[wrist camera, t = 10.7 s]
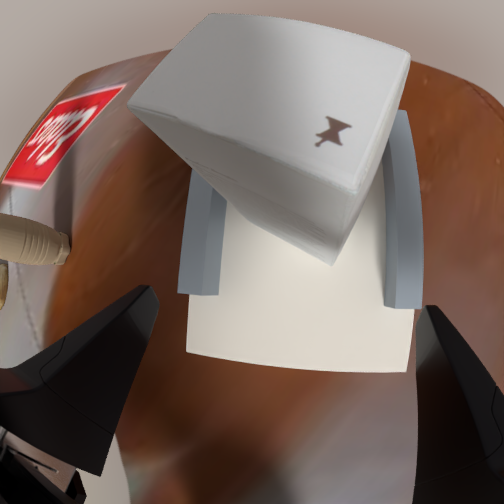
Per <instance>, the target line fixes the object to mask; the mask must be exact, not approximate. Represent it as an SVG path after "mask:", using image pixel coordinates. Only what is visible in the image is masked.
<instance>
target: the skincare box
mask: <svg viewBox="0 0 504 504" xmlns="http://www.w3.org/2000/svg"><path fill="white" fill-rule="evenodd" d="M410 60H411V59H410V54H409V53H408V52H407V51H405V50H402V49H400V48H398V47H395V46H392V45H390V44H387V43H384V42H381V41H378V40H375V39H372V38H368V37H365V36H362V35H358V34H354V33H351V32H347V31H343V30H340V29H336V28H332V27H328V26H322V25H318V24H313V23H309V22H304V21H298V20H292V19H285V18H279V17H270V16H259V15H245V14H216V13H212V14H209V15H208V16H207V17H206V18H204V19H203V20H202V21H201V22H200V23H199V24H198V25H197V26H196V27H195V28H193V29H192V30H191V31H190V32H189V33H188V34H187V35H186V36H185V37H184V38H183V39H182V40H181V41H180V42H179V43H178V44H177V45H176V46H175V47H174V48H173V49H172V51H171V52H170V53H169V54H168V55H167V56H166V57H165V58H164V59H163V60H162V61H161V62H160V64H159V65H158V66H157V67H156V68H155V69H154V70H153V71H152V73H151V74H150V75H149V76H148V77H147V78H146V80H145V81H144V82H143V83H142V84H141V86H140V87H139V88H138V89H137V90H136V92H135V93H134V94H133V95H132V97H131V98H130V99H129V101H128V103H127V108H128V109H129V110H130V111H131V112H132V113H133V114H134V115H135V116H137V117H138V118H139V119H140V120H141V121H142V122H143V123H144V124H145V125H146V126H148V127H149V128H150V129H151V130H152V131H153V132H154V133H155V134H156V135H157V136H158V137H159V138H161V139H162V140H163V141H164V142H165V143H166V144H167V145H168V146H169V147H170V148H171V149H172V150H173V151H174V152H175V153H177V154H178V155H179V156H180V157H181V158H182V159H183V160H184V161H185V162H186V163H187V164H188V165H189V166H190V167H192V168H193V169H194V170H195V171H196V172H197V173H198V174H199V175H200V176H201V177H202V178H203V179H204V180H206V181H207V182H208V183H209V184H210V185H211V186H212V187H213V188H214V189H215V190H216V191H217V192H218V193H219V194H221V195H222V196H223V197H224V198H225V199H226V200H227V201H228V202H229V203H230V204H231V205H232V206H233V207H234V208H235V209H236V210H237V211H238V212H239V213H240V214H241V215H242V216H244V217H245V218H246V219H247V220H248V221H249V222H251V223H252V224H254V225H256V226H258V227H260V228H262V229H264V230H265V231H267V232H269V233H271V234H273V235H275V236H277V237H278V238H280V239H282V240H284V241H286V242H288V243H289V244H291V245H293V246H295V247H297V248H299V249H300V250H302V251H304V252H306V253H308V254H310V255H311V256H313V257H315V258H317V259H319V260H320V261H322V262H324V263H326V264H328V265H329V266H333V265H334V263H335V261H336V259H337V257H338V256H339V254H340V252H341V250H342V248H343V247H344V245H345V243H346V241H347V239H348V237H349V235H350V233H351V231H352V229H353V227H354V225H355V223H356V221H357V218H358V216H359V214H360V212H361V210H362V207H363V205H364V203H365V200H366V198H367V196H368V193H369V190H370V188H371V185H372V183H373V180H374V177H375V175H376V172H377V169H378V166H379V164H380V161H381V158H382V155H383V152H384V150H385V147H386V144H387V141H388V138H389V135H390V132H391V129H392V126H393V123H394V119H395V116H396V113H397V110H398V106H399V102H400V99H401V96H402V92H403V89H404V85H405V82H406V78H407V74H408V70H409V66H410Z"/></svg>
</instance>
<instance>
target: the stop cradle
mask: <svg viewBox="0 0 504 504" xmlns="http://www.w3.org/2000/svg"><path fill="white" fill-rule="evenodd" d="M422 292H423V222H422V207H421V196H420V187H419V178H418V171H417V164H416V157H415V151H414V146H413V140H412V135H411V130H410V126H409V121H408V117H407V112H406V111H405V110H397V113H396V116H395V119H394V123H393V126H392V129H391V132H390V135H389V138H388V141H387V144H386V147H385V150H384V152H383V155H382V158H381V161H380V164H379V166H378V169H377V172H376V175H375V177H374V180H373V183H372V185H371V188H370V190H369V193H368V196H367V198H366V200H365V203H364V205H363V207H362V210H361V212H360V214H359V216H358V218H357V221H356V223H355V225H354V227H353V229H352V231H351V233H350V235H349V237H348V239H347V241H346V243H345V245H344V247H343V248H342V250H341V252H340V254H339V256H338V257H337V259H336V261H335V263H334V265H333V266H329V265H328V264H326V263H324V262H322V261H320V260H319V259H317V258H315V257H313V256H311V255H310V254H308V253H306V252H304V251H302V250H300V249H299V248H297V247H295V246H293V245H291V244H289V243H288V242H286V241H284V240H282V239H280V238H278V237H277V236H275V235H273V234H271V233H269V232H267V231H265V230H264V229H262V228H260V227H258V226H256V225H254V224H252V223H251V222H249V221H248V220H247V219H246V218H245V217H244V216H242V215H241V214H240V213H239V212H238V211H237V210H236V209H235V208H234V207H233V206H232V205H231V204H230V203H229V202H228V201H227V200H226V199H225V198H224V197H223V196H222V195H221V194H219V193H218V192H217V191H216V190H215V189H214V188H213V187H212V186H211V185H210V184H209V183H208V182H207V181H206V180H204V179H203V178H202V177H201V176H200V175H199V174H198V173H197V172H196V171H195V170H194V169H193V168H192V174H191V180H190V187H189V193H188V200H187V208H186V215H185V223H184V231H183V240H182V249H181V258H180V269H179V280H178V292H177V293H183V294H190V296H189V310H188V325H187V344H186V352H189V353H194V354H199V355H204V356H210V357H215V358H221V359H227V360H233V361H239V362H246V363H253V364H260V365H268V366H277V367H286V368H296V369H308V370H322V371H341V372H406V369H407V363H408V357H409V351H410V344H411V336H412V328H413V318H414V309H421V307H422Z"/></svg>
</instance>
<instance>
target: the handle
mask: <svg viewBox="0 0 504 504" xmlns="http://www.w3.org/2000/svg"><path fill="white" fill-rule="evenodd" d="M68 254H70V246H69V237H68V235H67V234H65V233H62V232H56V231H55V230H54V229H52V228H50V227H48V226H46V225H43V224H41V223H38V222H36V221H33V220H30V219H26V218H22V217H18V216H13V215H8V214H3V213H0V259H3V260H7V261H11V262H16V263H21V264H30V265H48V264H51V263H54V265H62V264H64V263H65V260H66V258H67V256H68Z"/></svg>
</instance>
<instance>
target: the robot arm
mask: <svg viewBox="0 0 504 504" xmlns="http://www.w3.org/2000/svg"><path fill="white" fill-rule="evenodd" d="M158 310H159V301H158V299H157V296H156V294H155V292H154V290H153V288H152V287H151V286H149V285H139V286H138V287H136V288H135V289H133V290H132V291H130V292H129V293H127V294H126V295H124V296H123V297H121V298H120V299H118V300H116V301H115V302H113V303H112V304H110V305H109V306H107V307H106V308H105V309H103V310H102V311H100V312H99V313H97V314H96V315H94V316H93V317H91V318H90V319H88V320H87V321H85V322H84V323H82V324H81V325H80V326H78V327H77V328H75V329H74V330H72V331H71V332H69V333H68V334H67V335H66V336H64V337H62V338H61V339H59V340H58V341H57V342H55V343H54V344H52V345H51V346H49V347H48V348H46V349H44V350H43V351H41V352H40V353H38V354H36V355H35V356H33V357H31V358H30V359H28V360H26V361H25V362H23V363H22V364H20V365H18V366H16V367H13V368H7V369H4V368H0V504H84V501H85V499H86V497H87V496H86V493H85V490H84V487H83V484H82V481H81V478H80V474H79V472H78V471H77V470H76V468H79V469H81V470H84V471H86V472H88V473H91V474H94V475H97V476H99V477H100V476H101V474H102V471H103V468H104V464H105V461H106V458H107V455H108V452H109V448H110V445H111V442H112V439H113V436H114V433H115V430H116V427H117V424H118V421H119V418H120V415H121V413H122V410H123V407H124V404H125V402H126V399H127V396H128V393H129V391H130V388H131V385H132V383H133V380H134V378H135V375H136V372H137V370H138V367H139V365H140V362H141V360H142V357H143V355H144V352H145V350H146V347H147V345H148V342H149V339H150V336H151V332H152V329H153V326H154V322H155V319H156V316H157V313H158ZM416 383H417V400H418V449H417V466H416V478H415V486H414V494H413V501H412V504H504V395H503V393H502V392H501V390H500V389H499V387H498V386H496V383H495V381H494V380H493V378H492V377H491V375H490V374H489V372H488V371H487V369H486V368H485V367H484V365H483V364H482V362H481V361H480V360H479V358H478V357H477V355H476V354H475V353H474V351H473V350H472V349H471V347H470V346H469V345H468V343H467V342H466V341H465V339H464V338H463V337H462V336H461V334H460V333H459V332H458V330H457V329H456V328H455V327H454V326H453V324H452V323H451V322H450V321H449V319H448V318H447V317H446V316H445V315H444V313H443V312H442V311H441V310H440V309H439V307H438V306H436V305H425V306H424V307H423V309H422V311H421V314H420V316H419V318H418V320H417V323H416Z"/></svg>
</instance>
